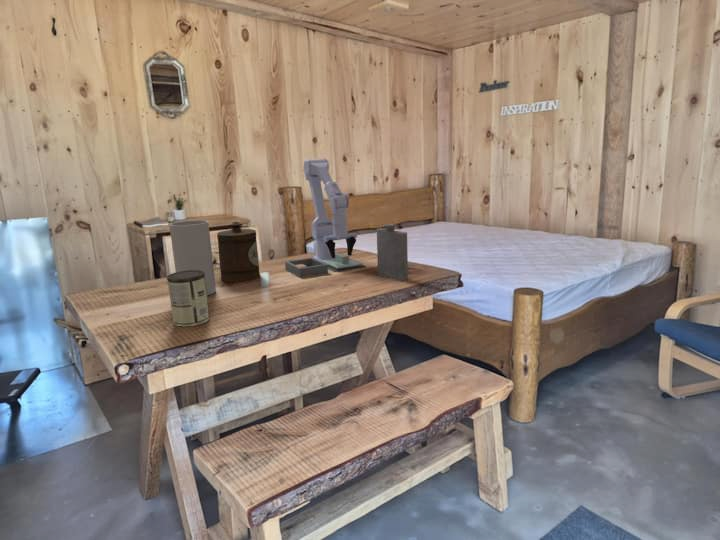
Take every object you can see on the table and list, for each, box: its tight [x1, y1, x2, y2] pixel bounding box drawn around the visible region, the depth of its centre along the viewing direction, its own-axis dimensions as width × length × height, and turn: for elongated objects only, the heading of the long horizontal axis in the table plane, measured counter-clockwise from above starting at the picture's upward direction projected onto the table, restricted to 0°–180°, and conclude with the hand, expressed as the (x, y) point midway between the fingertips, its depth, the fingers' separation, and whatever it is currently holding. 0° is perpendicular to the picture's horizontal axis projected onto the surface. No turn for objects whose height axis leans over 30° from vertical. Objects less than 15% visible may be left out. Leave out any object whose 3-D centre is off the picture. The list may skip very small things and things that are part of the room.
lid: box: [321, 252, 364, 269], centre depth 203 cm, size 16×12×4 cm
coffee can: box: [166, 270, 211, 328], centre depth 140 cm, size 10×10×14 cm
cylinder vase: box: [169, 219, 217, 297], centre depth 167 cm, size 12×12×25 cm
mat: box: [328, 264, 367, 273], centre depth 203 cm, size 16×14×1 cm
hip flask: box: [376, 223, 409, 282], centre depth 180 cm, size 16×4×20 cm, turn 36°
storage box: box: [284, 257, 329, 278], centre depth 195 cm, size 16×12×4 cm
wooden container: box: [216, 221, 261, 283], centre depth 188 cm, size 15×15×22 cm
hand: (341, 256), depth 202 cm, fingers open, 7 cm apart
